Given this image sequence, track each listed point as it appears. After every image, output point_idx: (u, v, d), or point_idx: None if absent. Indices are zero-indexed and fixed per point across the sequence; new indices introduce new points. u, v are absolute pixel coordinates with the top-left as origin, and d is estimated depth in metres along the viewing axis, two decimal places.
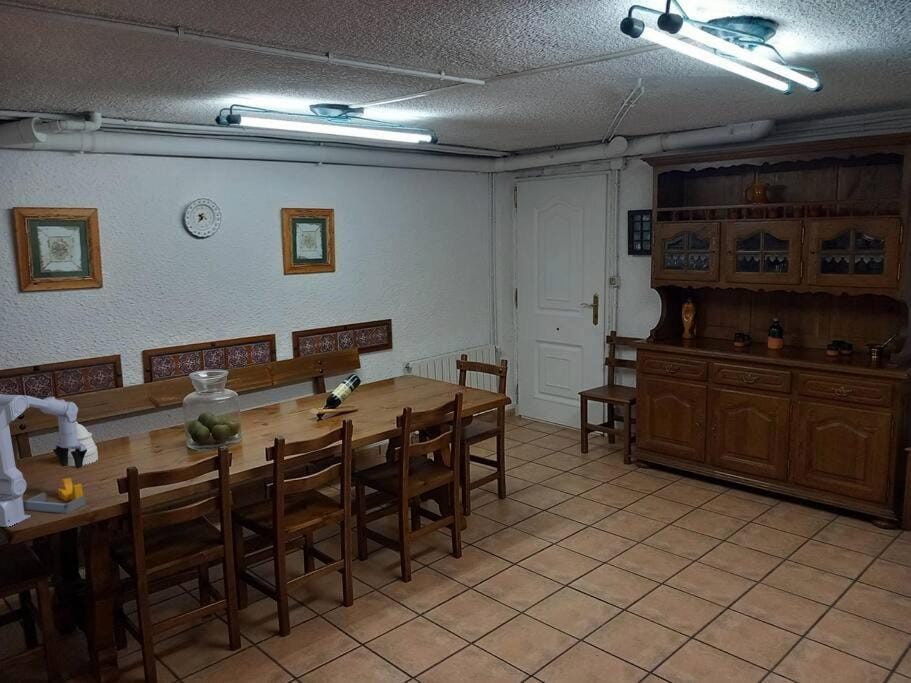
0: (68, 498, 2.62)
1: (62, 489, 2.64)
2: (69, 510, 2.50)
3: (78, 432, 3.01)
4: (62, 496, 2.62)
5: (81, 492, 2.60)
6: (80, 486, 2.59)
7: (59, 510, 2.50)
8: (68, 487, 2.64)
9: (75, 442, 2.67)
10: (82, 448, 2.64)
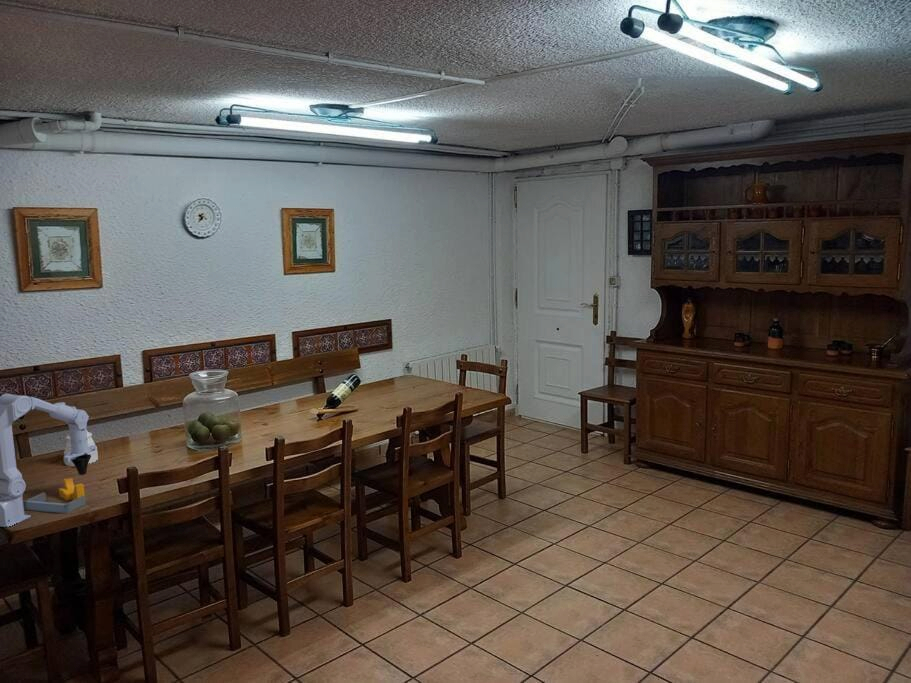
0: (70, 498, 2.62)
1: (63, 489, 2.64)
2: (69, 510, 2.50)
3: None
4: (63, 496, 2.63)
5: (83, 491, 2.60)
6: (82, 486, 2.60)
7: (59, 510, 2.50)
8: (69, 487, 2.65)
9: (75, 452, 2.64)
10: (64, 459, 2.60)
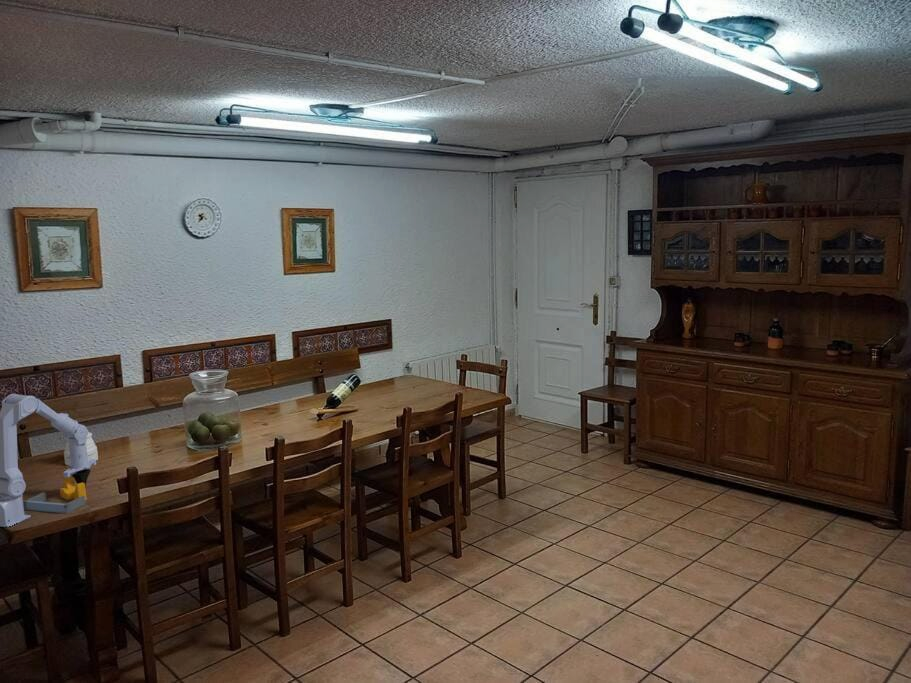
0: (71, 497, 2.62)
1: (64, 488, 2.64)
2: (69, 510, 2.50)
3: None
4: (64, 495, 2.63)
5: (84, 491, 2.60)
6: (83, 485, 2.60)
7: (59, 510, 2.50)
8: (70, 486, 2.65)
9: (75, 466, 2.64)
10: (64, 474, 2.60)
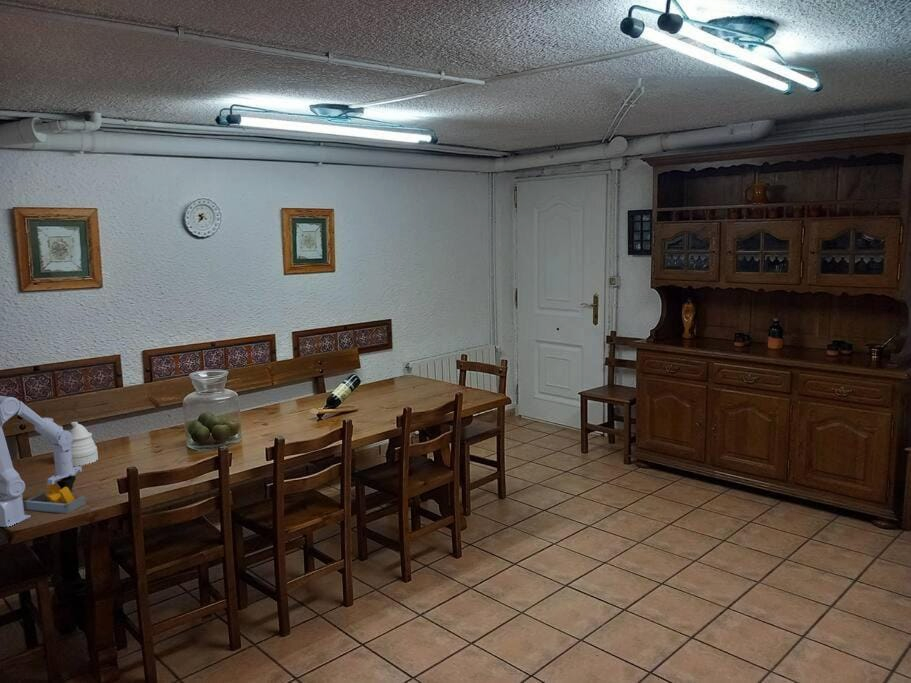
0: (59, 502, 2.57)
1: (49, 494, 2.58)
2: (69, 510, 2.50)
3: (78, 432, 3.01)
4: (52, 501, 2.57)
5: (70, 494, 2.54)
6: (67, 489, 2.53)
7: (59, 510, 2.50)
8: (55, 491, 2.59)
9: (59, 473, 2.57)
10: (48, 482, 2.53)
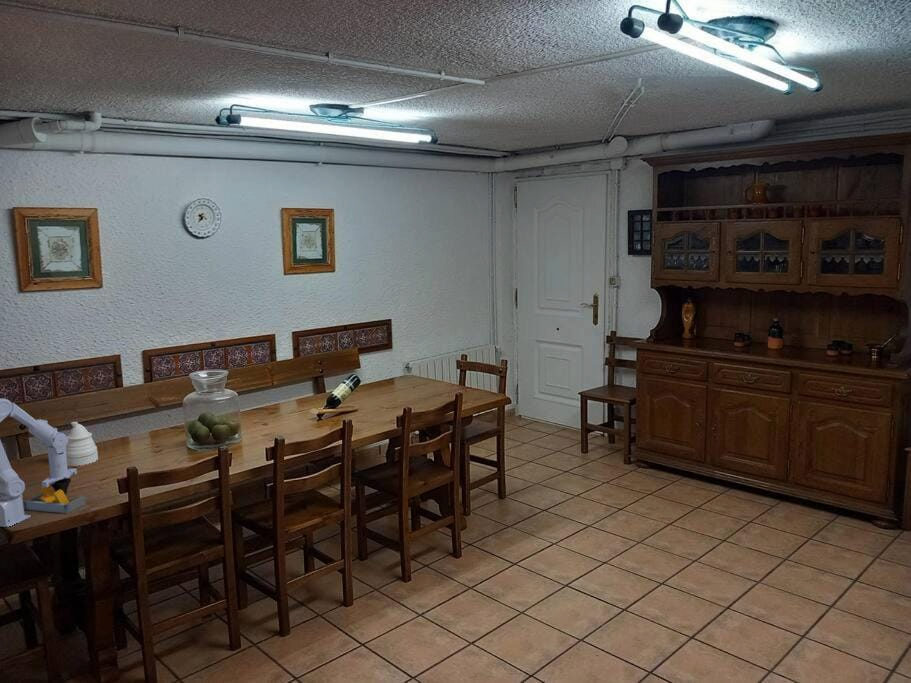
0: None
1: (44, 497, 2.56)
2: (69, 510, 2.50)
3: (78, 432, 3.01)
4: None
5: (65, 497, 2.52)
6: (61, 492, 2.51)
7: (59, 510, 2.50)
8: (49, 494, 2.56)
9: (54, 476, 2.54)
10: (43, 484, 2.50)
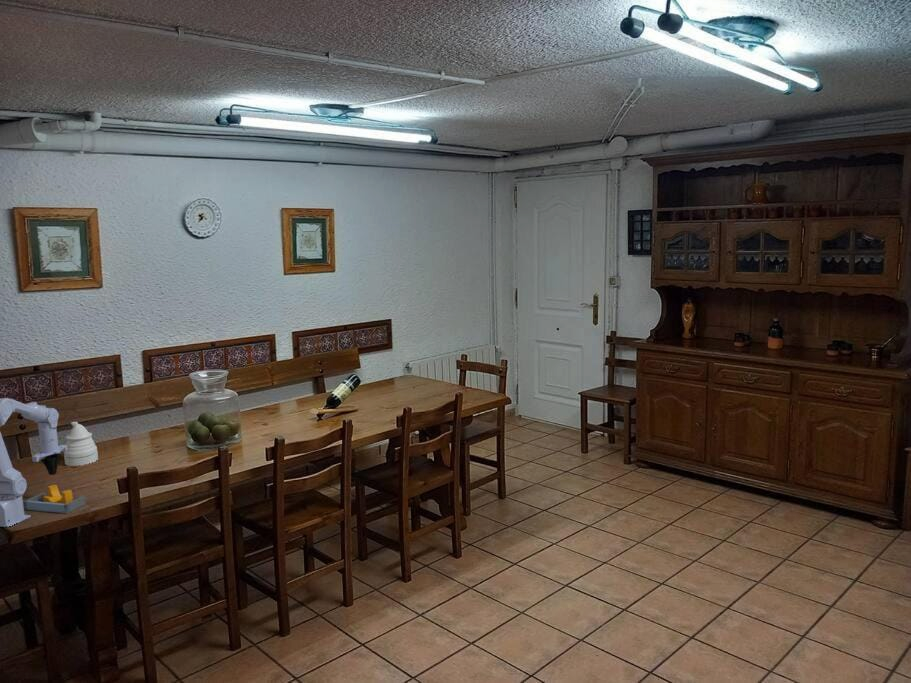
0: None
1: (48, 496, 2.57)
2: (69, 510, 2.50)
3: (78, 432, 3.01)
4: None
5: (71, 498, 2.54)
6: (70, 492, 2.53)
7: (59, 510, 2.50)
8: (55, 494, 2.58)
9: (44, 451, 2.59)
10: (33, 459, 2.55)
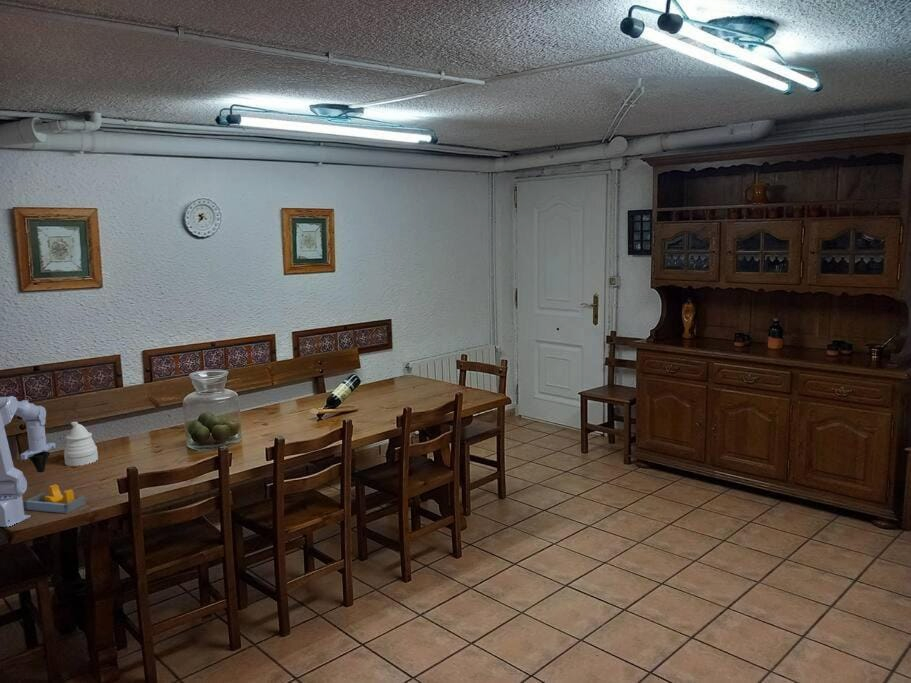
0: None
1: (49, 496, 2.57)
2: (69, 510, 2.50)
3: (78, 432, 3.01)
4: None
5: (73, 498, 2.54)
6: (72, 491, 2.54)
7: (59, 510, 2.50)
8: (56, 494, 2.58)
9: (32, 449, 2.61)
10: (21, 457, 2.57)
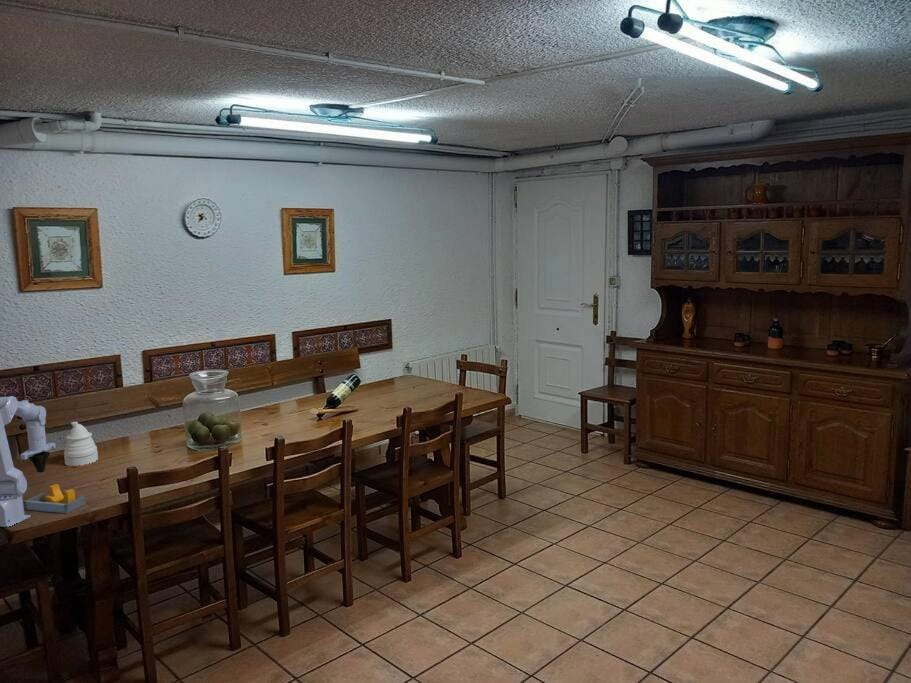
0: None
1: (50, 496, 2.57)
2: (69, 510, 2.50)
3: (78, 432, 3.01)
4: None
5: (74, 497, 2.55)
6: (73, 491, 2.54)
7: (59, 510, 2.50)
8: (56, 494, 2.58)
9: (32, 449, 2.61)
10: (21, 457, 2.57)
